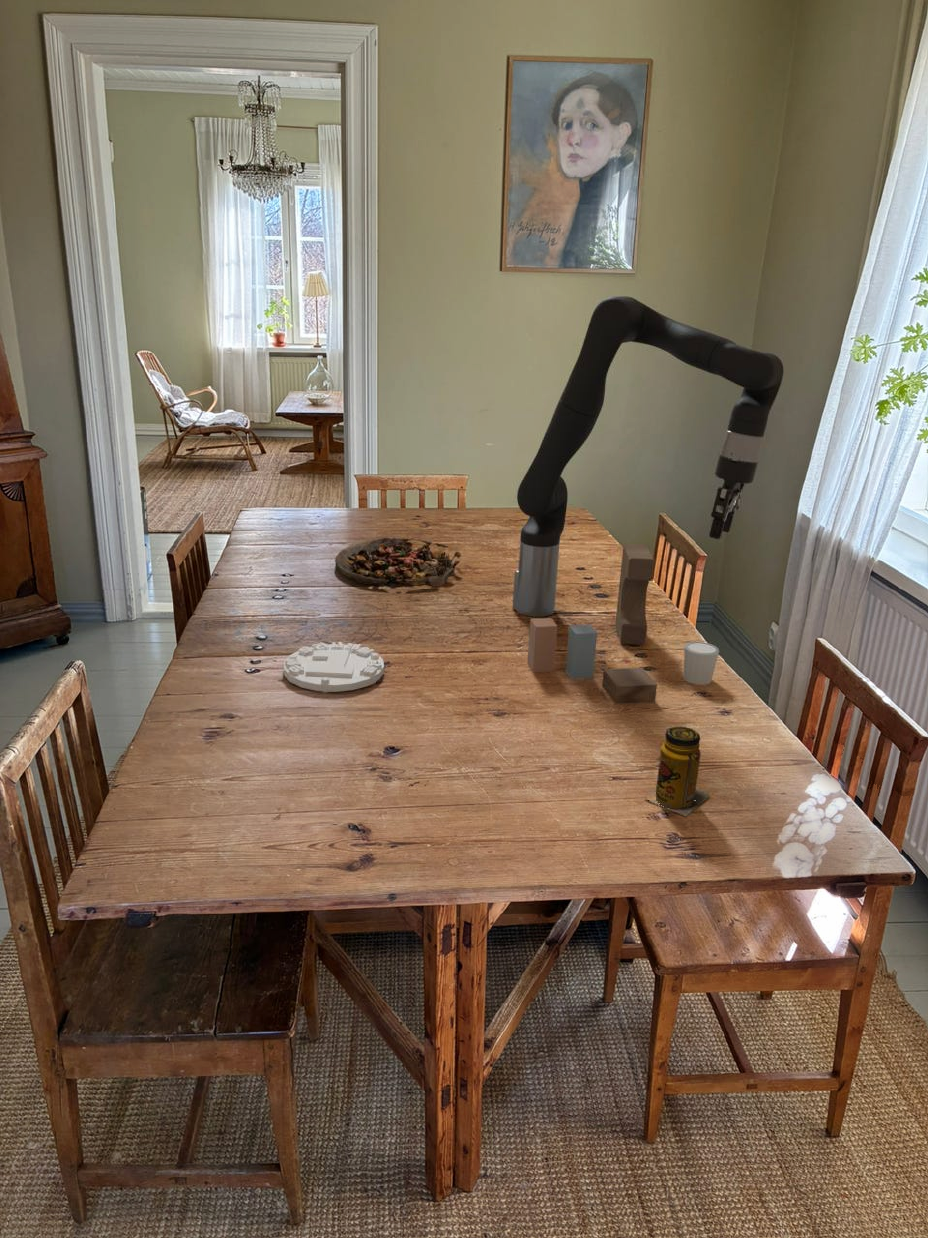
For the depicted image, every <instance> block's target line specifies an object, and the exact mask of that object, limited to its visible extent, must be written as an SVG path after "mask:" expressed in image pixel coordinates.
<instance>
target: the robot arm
mask: <svg viewBox="0 0 928 1238" xmlns="http://www.w3.org/2000/svg"><path fill="white" fill-rule="evenodd" d="M630 342H632V343H636V344H637V343H638V344H641V345H642V344H643V345H649V346H652V347H654V348H658V349H660V350H663V351H665V352H666V353H668V354H670V355H671V356H673V357H674V358H676V359H677V360H679V361H681V362H682V363H685V364H687V365H689V366H690V367H693V368H695V369H698V370H701V371H704V372H706V373H709V374H712V375H716V376H719V377H721V378H722V379H725V380H728V381H730V383H733V384H735V385H738V387H739V386H740V387H742V388H743V389H742V392H741V396H740V398H739V400H738V401H737V402H736V403H735V404H734V405H733V408H732V410H731V414H730V417H729V421H728V425H727V430H726V432H725V436H724V437H723V441H722V444H721V448H720V451H719V452H720V453H719V455H718V461H717V464H716V469H715V473H714V475H715V476H716V478H718V479H720V480H721V479H722V480H723V484H722V486H721V487H720V486H719V487H718V488H717V493H716V496H715V500H714V504H713V507H712V510H711V513H710V516H711V518H712V519H713V520H712V522H711V527H710V531H709V537H710V538H712V539H715V540H719V539H720V538H722V535H723V532H724V533H729V532H730V531H731V527H732V522H733V519H734V516H735V515H736V513H737V511H738V510H739V508H740V502H741V498H742V494H743V491H744V488H745V484H746V485H747V484H751V483H754V482H753V481H754V478H755V475H756V470H757V469H758V468H757V467H758V463H759V460H760V455H761V453H762V448H763V447H762V446H763V439H764V435H765V431H766V428H767V424H768V420H769V419H768V418H769V415H770V411H771V409H772V407H773V405H774V403H775V402H776V401H775V400H776V398H777V396H778V393H779V390H780V388H781V385H782V383H783V378H784V364H783V362H782V359H780V358H779V356H777V355H776V354H774V353H770V352H761V351H758V350H757V351H756V350H753V349H751V348H747V347H745V346H741V345H738V344H737V343H736V342H734V341H732V340H730V339H729V338H726V337H722V336H721V335H717V334H715V333H712V332H709V331H706V330H702V329H700V328H697V327H694V326H691V325H688V324H685V323H682V322H679V321H677V320H675V319H673V318H670V317H668V316H666V315H664V314H661V313H659V312H658V311H656V310H655V309H653V308H651V307H650V306H648V305H647V304H645V303H643V302H641V301H639V300H638V299H636V298H634V297H631V296H625V295H623V296H622V295H621V296H618V295H617V296H609V297H606V298H605V299H603V300H601V301H600V302H599V303H598V304H597V305H596V306H595V309H594V310H593V311H592V315H591V318H590V320H589V323H588V325H587V330H586V332H585V336H584V339H583V342H582V345H581V349H580V351H579V353H578V354H579V355H578V357H577V359H576V362H575V364H574V366H573V369H572V370H571V373H570V375H569V378H568V380H567V382H566V385H565V386H564V389H563V391H562V393H561V395H560V398H559V400H558V402H557V404H556V407H555V408H554V412H553V414H552V417H551V420H550V422H549V424H548V426H547V429H546V431H545V434H544V436H543V438H542V441H541V443H540V446H539V448H538V450H537V453H536V455H535V456H534V458H533V461H532V462H531V463H530V466H529V468H528V469H527V471H526V473H525V474H524V476H523V478H522V480H521V482H520V484H519V486H518V489H517V494H516V495H517V496H516V500H517V501H516V502H517V505H518V507H519V509H520V511H521V513H523V514H524V515H526V516H528V518H527V519H528V520H527V521H526V522H525V524H524V525H523V526H522V528H521V530H520V539H519V556H518V569H517V570H515V571H514V579H513V593H512V595H513V596H512V610H515V611H516V612H518V613H520V614H521V615H524V616H527V617H528V616H529V617H538V618H539V617H540V618H541V617H547V616H550V615H552V614H554V612H555V606H556V591H557V582H558V581H557V579H558V568H559V555H560V554H559V553H560V545H561V544H560V541H561V536H562V534H563V531H564V529H565V524H566V523H565V522H566V516H567V507H568V499H569V497H568V486H567V484H566V481H565V480H564V478H563V477H562V473H563V472H564V470H565V468H566V466H567V465H568V463H569V462H570V461H571V459H572V458H573V457H574V456H575V455H576V454H577V452H578V451H579V450H580V449H581V447H582V446H583V445H584V443H585V442H586V441H587V439H588V438H589V437H590V435H591V433H592V432H593V429H594V427H595V425H596V423H597V420H598V418H599V416H600V414H601V411H602V410H603V409H602V408H603V406H604V403H605V402H604V401H605V396H606V395H605V394H606V384H607V383H606V382H607V376H608V373H609V370H610V367H611V364H612V363H613V361H614V359H615V356H616V354H617V352H618V351H619V349H620V347H621V345H622V344H625V343H630ZM720 511H721V512H720Z"/></svg>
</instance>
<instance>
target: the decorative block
mask: <svg viewBox="0 0 928 1238" xmlns="http://www.w3.org/2000/svg"><path fill="white" fill-rule="evenodd" d="M621 558H622V559H621V567H620V575H619V584H618V595H617V602H616V604H617V605H616V613H615V615H616V616H615V622H614V623H615V624H614V626H615V627H614V628H615V630H616V633H617V636H618V639H619V642H620V644H621V645H625V646H627V645H630V646H645V645H646V641H647V632H648V624H647V615H646V610H647V607H646V604H647V602H646V601H647V591H648V586H649V583H650V582H652V581H653V580H654V573H655V566H656V565H655V564H656V560H655V558H654V556H653V555H652V552H651V550H650V548H649V547H648V546H647V545H646V544H643V545H641V544H624V545H623V548H622V557H621Z"/></svg>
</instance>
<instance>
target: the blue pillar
mask: <svg viewBox="0 0 928 1238" xmlns="http://www.w3.org/2000/svg"><path fill="white" fill-rule="evenodd" d="M597 639H598V632H597V631H596V629H594V627H593V626H592V625H591V624H579V625H578V624H573V625H572V624H571V625H569V626H568V636H567V649H566V660H565V672H566V674H567V675H568V676H569V678H570V679H571V680H591V679H594V671H595V662H596V661H595V660H596V651H597V650H596V649H597V641H598V640H597Z"/></svg>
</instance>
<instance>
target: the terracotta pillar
mask: <svg viewBox="0 0 928 1238" xmlns="http://www.w3.org/2000/svg"><path fill="white" fill-rule="evenodd" d="M528 635H529V636H528V648H527V649H528V651H527V665H528V667H529V668H530V671H531V672H532V673H537V672H538V673H541V672H542V673H544V672H546V673H547V672H554V671H555V660H556V650H557V649H556V647H557V635H558V625H557V624H556V622H555V621H554V620H553V618H552V617H547V618H544V617H543V618H541V617H540V618H530V620H529V633H528Z"/></svg>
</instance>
